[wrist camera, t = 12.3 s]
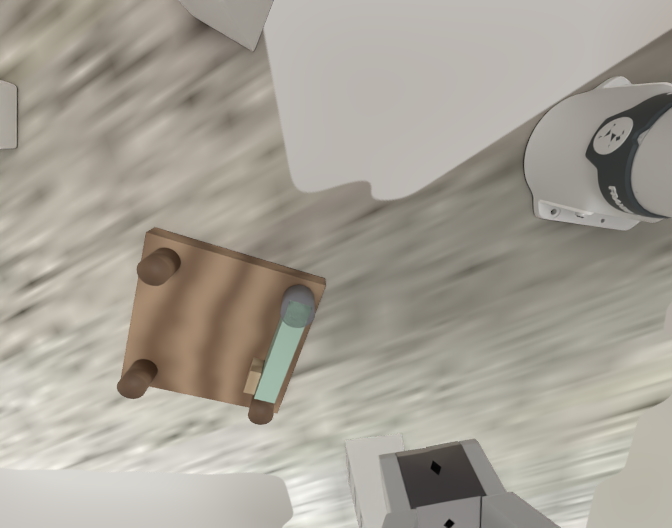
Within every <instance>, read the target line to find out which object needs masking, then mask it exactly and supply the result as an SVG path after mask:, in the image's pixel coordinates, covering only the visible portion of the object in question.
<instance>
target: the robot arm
mask: <svg viewBox="0 0 672 528" xmlns="http://www.w3.org/2000/svg"><path fill="white" fill-rule="evenodd" d="M524 171H525V177H526V180H527V183H528V185H529V187H530V189H531V191H532V194H533V197H534V199H533V206H534V214H535V216H536V217H538V218H542V219H548V220H554V221H561V222H568V223H575V224H582V225H588V226H595V227H602V228H609V229H616V230H624V231H625V230H629V229H631V228H632V227H634V226H635V225H637V224H638V223H639V222H640V221H645V222H651V223H655V222H658V221H661V220H663V219H665V218H672V84H671V83H668V82H659V83H646V84H634V85H633V84H632V83H630V82H629V81H628V80H627V79H626V78H625V77H622V76H618V77H612V78H609V79H607V80H606V81H604V82H603V83H601V84H600V85H599V86H597V87H596V88H595V89H593V90H591V91H588V92H584V93H580V94H577V95H574V96H571V97H569V98H567V99H565V100H563V101H561V102H560V103H558V104H557V105H555V106H554V107H553V108H552V109H551V110H549V111H548V112H547V113H546V115H545V116H544V117H543V118H542V119H541V120H540V122H539V123H538V125H537V126H536V128H535V129H534V131H533V133H532V135H531V137H530V139H529V142H528V145H527V148H526V153H525V159H524ZM552 209H553V212H552V213H551V210H552ZM378 458H379V466H380V474H381V482H382V488H383V494H384V500H385V505H386V509H387V514H386V516H385V519H384V522H383V525H382V528H561V527H559V526H558V525H556V524H555V523H554V522H552V521H551V520H550V519H548V518H547V517H546V516H544V515H543V514H542V513H540V512H539V511H538V510H536V509H535V508H534V507H532V506H531V505H529V504H528V503H527V502H525V501H524V500H523V499H521V498H520V497H519V496H517V495H516V494H515V493H513V492H506V490H505V488H504V486H503V485H502V483H501V481H500V479H499V478H498V476H497V474H496V472H495V470H494V469H493V467H492V465H491V463H490V462H489V460H488V458H487V456H486V455H485V453H484V451H483V449H482V448H481V446H480V444H479V442H478V441H477V440H476V439H469V440H464V441H459V442H458V441H455V442H450V443H445V444H440V445H434V446H429V447H426V448H422V449H415V450H408V451H401V452H394V453H388V454H382V455H379V456H378Z"/></svg>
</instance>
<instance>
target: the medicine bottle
mask: <svg viewBox="0 0 672 528" xmlns="http://www.w3.org/2000/svg"><path fill="white" fill-rule="evenodd" d="M16 147H17V87H16V86H15V85H14V84H12V83H9V82H5V81H2V80H0V149H14V148H16Z"/></svg>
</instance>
